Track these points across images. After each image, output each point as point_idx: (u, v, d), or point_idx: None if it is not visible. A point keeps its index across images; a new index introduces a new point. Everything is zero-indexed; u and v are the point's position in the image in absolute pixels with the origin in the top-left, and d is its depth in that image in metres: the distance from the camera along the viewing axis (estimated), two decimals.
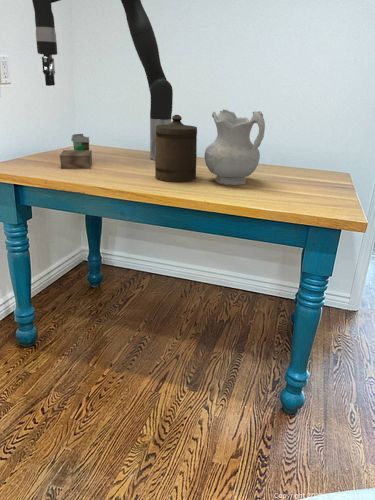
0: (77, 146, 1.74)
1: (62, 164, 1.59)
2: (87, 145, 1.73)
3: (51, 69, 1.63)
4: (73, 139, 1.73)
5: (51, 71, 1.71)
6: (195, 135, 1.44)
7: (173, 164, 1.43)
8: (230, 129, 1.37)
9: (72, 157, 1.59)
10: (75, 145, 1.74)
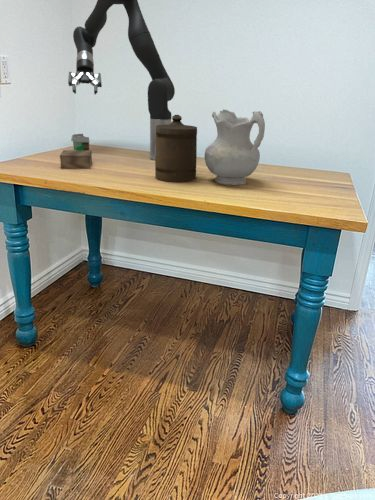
0: (77, 146, 1.74)
1: (62, 164, 1.59)
2: (87, 145, 1.73)
3: (75, 79, 1.81)
4: (73, 139, 1.73)
5: None
6: (195, 135, 1.44)
7: (173, 164, 1.43)
8: (230, 129, 1.37)
9: (72, 157, 1.59)
10: (75, 145, 1.74)
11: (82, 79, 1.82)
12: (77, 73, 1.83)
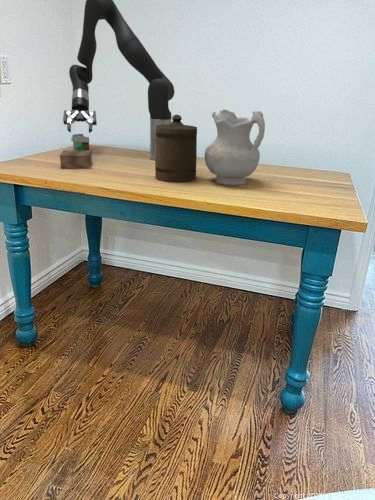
0: (77, 146, 1.74)
1: (62, 164, 1.59)
2: (87, 145, 1.73)
3: (70, 117, 1.82)
4: (73, 139, 1.73)
5: None
6: (195, 135, 1.44)
7: (173, 164, 1.43)
8: (230, 129, 1.37)
9: (72, 157, 1.59)
10: (75, 145, 1.74)
11: (77, 118, 1.83)
12: (72, 111, 1.83)
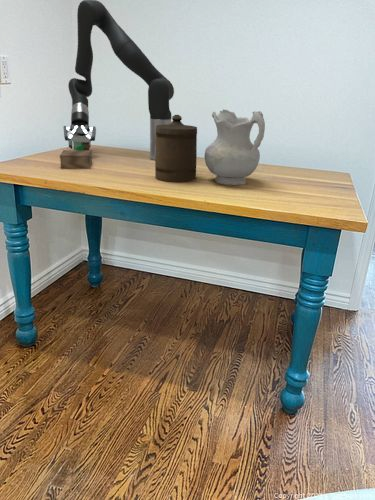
0: (77, 146, 1.74)
1: (62, 164, 1.59)
2: (87, 145, 1.73)
3: (71, 133, 1.78)
4: (73, 139, 1.73)
5: (91, 137, 1.80)
6: (195, 135, 1.44)
7: (173, 164, 1.43)
8: (230, 129, 1.37)
9: (72, 157, 1.59)
10: (75, 145, 1.74)
11: (78, 132, 1.79)
12: (72, 126, 1.80)
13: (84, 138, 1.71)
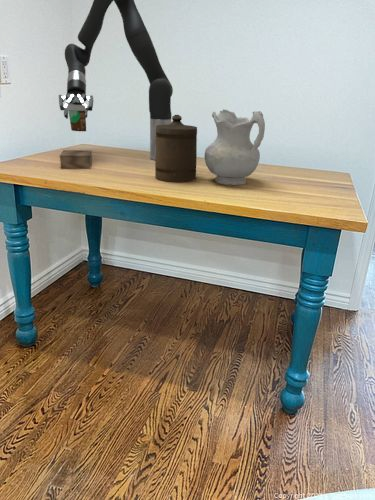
0: (72, 115, 1.63)
1: (62, 164, 1.59)
2: (83, 114, 1.62)
3: (67, 102, 1.67)
4: (68, 107, 1.62)
5: None
6: (195, 135, 1.44)
7: (173, 164, 1.43)
8: (230, 129, 1.37)
9: (72, 157, 1.59)
10: (71, 114, 1.63)
11: (74, 101, 1.68)
12: (67, 95, 1.68)
13: (80, 106, 1.60)
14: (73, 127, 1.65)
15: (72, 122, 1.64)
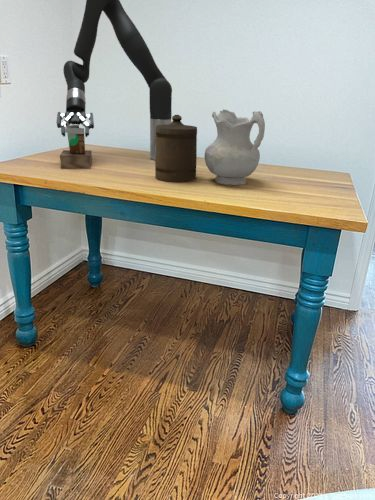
0: (71, 138, 1.59)
1: (62, 164, 1.59)
2: (82, 137, 1.58)
3: (65, 120, 1.63)
4: (67, 130, 1.59)
5: None
6: (195, 135, 1.44)
7: (173, 164, 1.43)
8: (230, 129, 1.37)
9: (72, 157, 1.59)
10: (69, 137, 1.60)
11: (72, 120, 1.64)
12: (67, 113, 1.65)
13: (79, 129, 1.57)
14: (72, 150, 1.62)
15: (71, 145, 1.61)
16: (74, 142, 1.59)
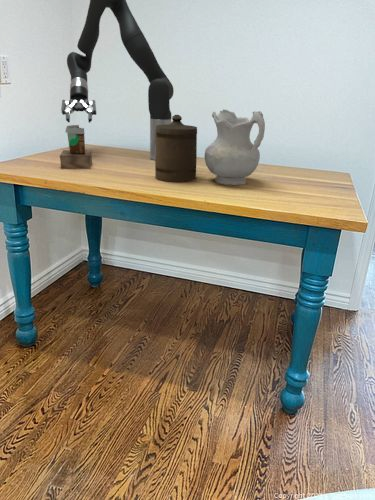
0: (71, 138, 1.59)
1: (62, 164, 1.59)
2: (82, 137, 1.58)
3: (69, 107, 1.74)
4: (67, 130, 1.59)
5: None
6: (195, 135, 1.44)
7: (173, 164, 1.43)
8: (230, 129, 1.37)
9: (72, 157, 1.59)
10: (69, 137, 1.60)
11: (76, 107, 1.75)
12: (71, 101, 1.76)
13: (79, 129, 1.57)
14: (72, 150, 1.62)
15: (71, 145, 1.61)
16: (74, 142, 1.59)
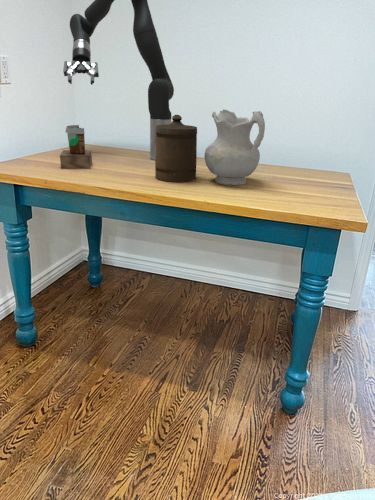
0: (71, 138, 1.59)
1: (62, 164, 1.59)
2: (82, 137, 1.58)
3: (71, 68, 1.72)
4: (67, 130, 1.59)
5: None
6: (195, 135, 1.44)
7: (173, 164, 1.43)
8: (230, 129, 1.37)
9: (72, 157, 1.59)
10: (69, 137, 1.60)
11: (78, 69, 1.73)
12: (73, 62, 1.74)
13: (79, 129, 1.57)
14: (72, 150, 1.62)
15: (71, 145, 1.61)
16: (74, 142, 1.59)
